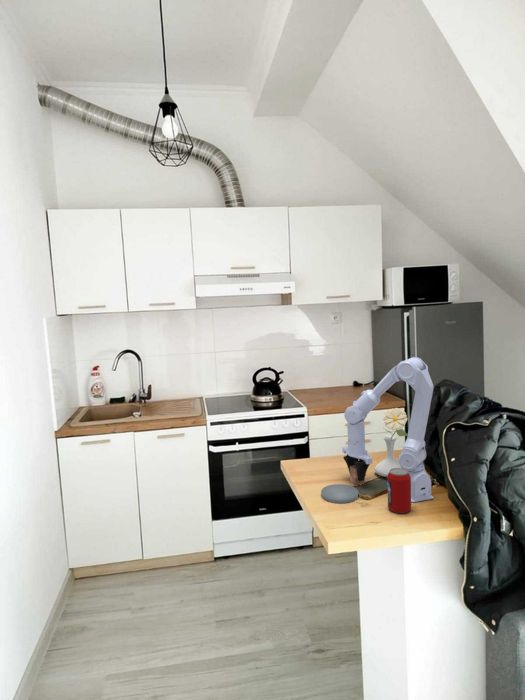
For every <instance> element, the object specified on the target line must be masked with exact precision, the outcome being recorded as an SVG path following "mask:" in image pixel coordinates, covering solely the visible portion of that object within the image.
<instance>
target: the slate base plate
mask: <svg viewBox="0 0 525 700" xmlns="http://www.w3.org/2000/svg"><path fill="white" fill-rule="evenodd" d="M320 493H321V498H322V499H323V500H324V501H326V502H328V503H332V504H349V503H353V502H355V500H356V501H357V500H358V499H359V497H358V494H359V489H357V487H356V486H355V487H354V485H349V484H342V483H337V484H336V483H335V484H334V483H333V484H330V485H326V486H324V487H322V488H321V490H320ZM359 495H360V494H359Z"/></svg>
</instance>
